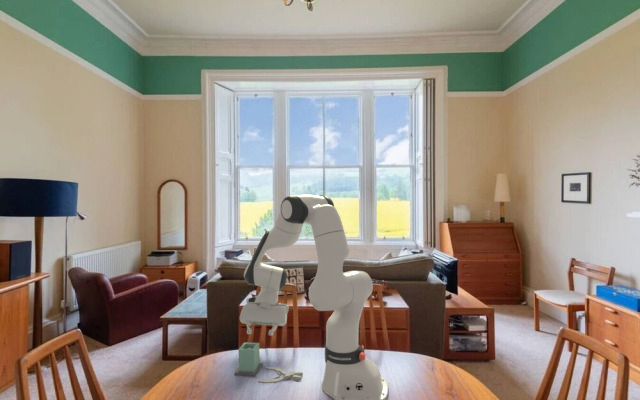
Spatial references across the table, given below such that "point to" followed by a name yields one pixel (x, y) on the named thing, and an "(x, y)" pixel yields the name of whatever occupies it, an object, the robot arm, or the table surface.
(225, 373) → the table surface
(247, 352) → the sleeve
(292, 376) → the pliers
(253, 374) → the post stand
